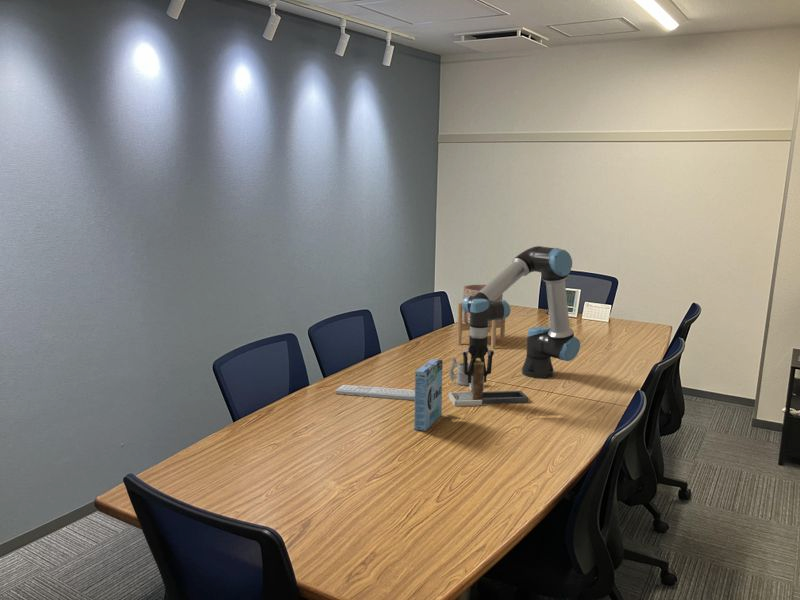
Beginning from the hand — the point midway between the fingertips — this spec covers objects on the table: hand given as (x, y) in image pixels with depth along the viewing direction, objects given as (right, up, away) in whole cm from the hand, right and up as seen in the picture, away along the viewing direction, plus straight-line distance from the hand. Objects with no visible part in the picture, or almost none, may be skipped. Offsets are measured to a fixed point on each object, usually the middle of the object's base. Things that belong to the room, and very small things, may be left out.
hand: (476, 389), depth 282 cm
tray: (-5, -6, 0) cm, 7 cm away
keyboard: (-38, -4, +11) cm, 40 cm away
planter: (+14, +13, +104) cm, 106 cm away
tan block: (0, -4, +1) cm, 4 cm away
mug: (-5, -1, +25) cm, 26 cm away
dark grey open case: (+11, -5, +3) cm, 13 cm away
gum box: (-21, -10, -22) cm, 32 cm away
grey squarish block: (-7, -5, 0) cm, 8 cm away
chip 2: (-4, -5, 0) cm, 6 cm away
